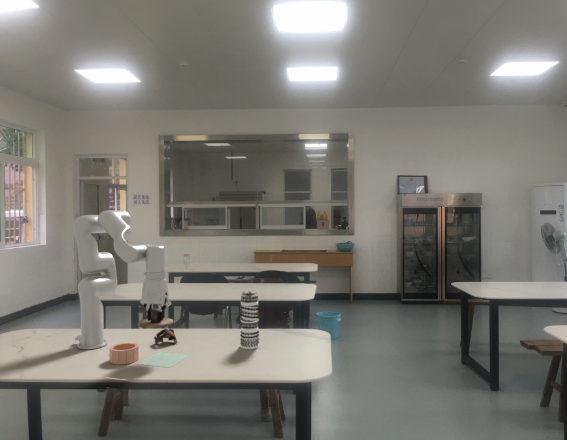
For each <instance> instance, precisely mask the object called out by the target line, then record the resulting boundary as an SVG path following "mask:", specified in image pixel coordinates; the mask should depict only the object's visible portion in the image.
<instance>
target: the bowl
mask: <svg viewBox="0 0 567 440" xmlns="http://www.w3.org/2000/svg"><path fill="white" fill-rule="evenodd" d="M139 348H140V345H139V343H138V342H137V343H136V342H121V343H117V344H114V345H112V346H110V348H109V363H110V364H112V365H119V366H120V365H121V366H122V365H129V364H132V363H135V362H137V361H139V359H140V349H139Z"/></svg>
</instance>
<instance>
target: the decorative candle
mask: <svg viewBox="0 0 567 440" xmlns="http://www.w3.org/2000/svg"><path fill="white" fill-rule="evenodd" d="M258 295H259V293H257V292H256V291H255V290H244V291H243V292H242V293H241V294H240V297H241V299H240V304H239V305H238V306H239V307H240V308H239V315H240V317H239V319H240V322H241V325H240V326H241V327H240V338H239V340H240V348H241V349H244V350H255V349H258V348H259V347H260V345H259V343H260V337H259V336H260V334H259V333H260V331H259V321H260V312H259V310H260V304H259V300H258V299H259V297H258Z"/></svg>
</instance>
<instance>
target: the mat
mask: <svg viewBox="0 0 567 440" xmlns="http://www.w3.org/2000/svg"><path fill="white" fill-rule="evenodd" d="M187 357H189V354H187V355H186V354H180V353H168V352H159V351H158V352H156V353H154V354H152V355H150V356H148V357H147V358H145V359H143V360H141V361H139V362H137V363H136V365H140V366H141V365H142V366H152V367H160V368H172V367H173V366H175V365H176V364H178V363H179V362H181V361H183V360H184V359H186V358H187Z"/></svg>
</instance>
